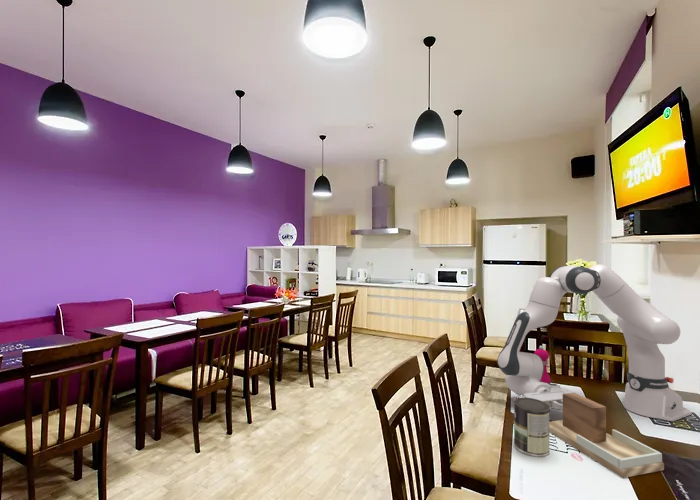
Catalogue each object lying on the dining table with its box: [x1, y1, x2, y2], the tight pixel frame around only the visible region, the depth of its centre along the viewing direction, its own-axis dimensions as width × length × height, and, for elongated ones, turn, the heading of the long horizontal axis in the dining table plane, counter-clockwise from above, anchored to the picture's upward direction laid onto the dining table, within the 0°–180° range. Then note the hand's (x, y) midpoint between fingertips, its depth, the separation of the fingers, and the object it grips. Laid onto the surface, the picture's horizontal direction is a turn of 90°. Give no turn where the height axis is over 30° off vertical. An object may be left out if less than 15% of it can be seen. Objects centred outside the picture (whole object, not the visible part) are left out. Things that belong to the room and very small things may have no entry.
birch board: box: [549, 419, 665, 479], centre depth 115 cm, size 15×29×2 cm, turn 14°
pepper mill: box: [533, 345, 552, 384], centre depth 163 cm, size 7×7×20 cm
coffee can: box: [513, 397, 551, 458], centre depth 115 cm, size 10×10×14 cm
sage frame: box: [577, 428, 663, 470], centre depth 109 cm, size 15×14×2 cm
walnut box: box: [562, 392, 607, 443], centre depth 120 cm, size 5×12×11 cm, turn 14°
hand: (568, 409), depth 126 cm, fingers closed
